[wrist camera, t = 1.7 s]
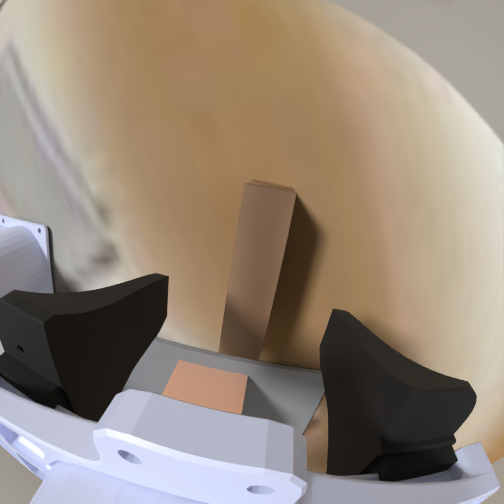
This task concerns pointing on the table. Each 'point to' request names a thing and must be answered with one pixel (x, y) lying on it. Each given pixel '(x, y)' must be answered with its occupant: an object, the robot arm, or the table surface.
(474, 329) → the table surface
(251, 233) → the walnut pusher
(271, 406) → the mat
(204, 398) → the tile
